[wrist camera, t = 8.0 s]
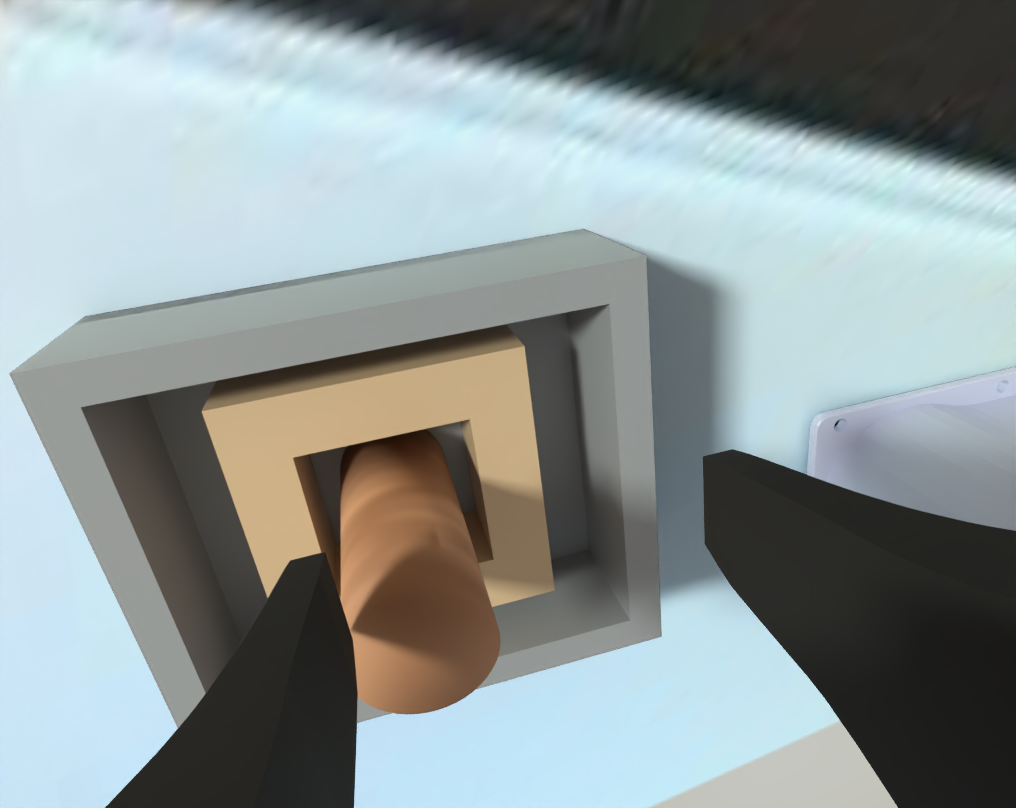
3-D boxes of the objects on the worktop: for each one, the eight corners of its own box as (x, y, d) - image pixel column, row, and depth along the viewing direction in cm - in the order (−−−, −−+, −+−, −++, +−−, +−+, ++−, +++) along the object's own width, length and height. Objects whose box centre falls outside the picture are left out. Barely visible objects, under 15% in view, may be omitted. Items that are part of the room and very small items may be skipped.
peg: (435, 410, 20) (488, 570, 13) (452, 498, 21) (510, 688, 14) (329, 434, 20) (322, 614, 12) (354, 523, 21) (362, 732, 14)
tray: (583, 228, 20) (646, 255, 16) (609, 553, 25) (661, 636, 21) (85, 316, 18) (9, 373, 14) (222, 653, 23) (197, 768, 19)
